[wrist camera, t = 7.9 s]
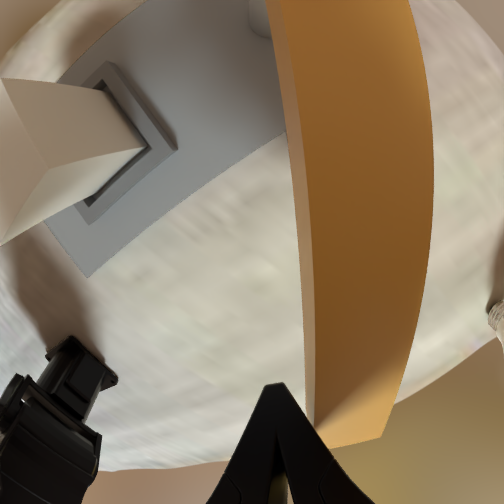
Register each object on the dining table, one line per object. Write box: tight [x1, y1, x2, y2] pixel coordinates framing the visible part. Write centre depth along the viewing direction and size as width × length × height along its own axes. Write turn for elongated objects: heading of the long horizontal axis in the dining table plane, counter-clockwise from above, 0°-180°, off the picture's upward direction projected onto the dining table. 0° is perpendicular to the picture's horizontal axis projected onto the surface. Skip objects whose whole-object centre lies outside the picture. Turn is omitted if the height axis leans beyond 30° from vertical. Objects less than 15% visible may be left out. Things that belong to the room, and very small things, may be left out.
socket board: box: [44, 0, 286, 278], centre depth 10 cm, size 21×12×10 cm, turn 124°
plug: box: [0, 78, 148, 246], centre depth 10 cm, size 4×4×9 cm
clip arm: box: [265, 0, 434, 449], centre depth 5 cm, size 18×3×2 cm, turn 8°
